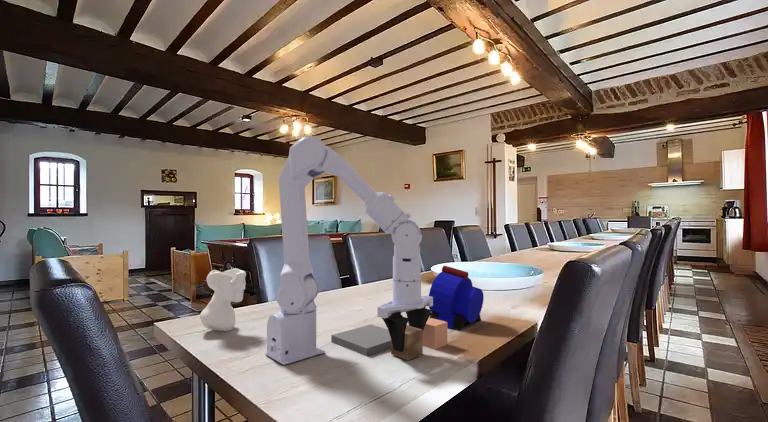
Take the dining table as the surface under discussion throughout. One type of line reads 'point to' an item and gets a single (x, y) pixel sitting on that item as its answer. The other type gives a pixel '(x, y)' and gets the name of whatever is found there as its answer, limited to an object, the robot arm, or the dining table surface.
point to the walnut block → (410, 344)
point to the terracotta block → (435, 334)
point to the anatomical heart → (223, 299)
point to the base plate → (364, 339)
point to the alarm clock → (455, 298)
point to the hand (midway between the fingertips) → (406, 347)
